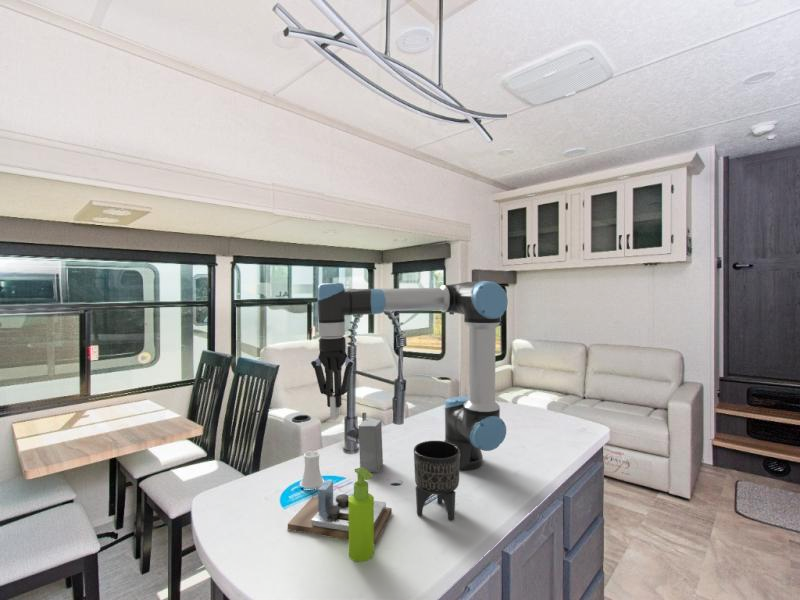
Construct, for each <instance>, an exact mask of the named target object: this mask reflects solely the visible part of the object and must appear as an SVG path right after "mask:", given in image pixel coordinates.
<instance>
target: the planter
mask: <svg viewBox="0 0 800 600" xmlns="http://www.w3.org/2000/svg"><path fill="white" fill-rule="evenodd" d="M413 463H414V467H413V468H414V482H415V485H416V486H415V502H416V503H415V504H416V514H417V516H418V517H419V516H420V517H421V516H423V510H424V506H425V503H426V501H427V500H428V499H429V498H430V497H431V496H432V495H436V496H437V499H436V500H437V504H441V505H442V504H443V503H444V505H445V507H446V512H447V520H448V521H450V522H453V521H455V515H456V513H455V511H456V510H455V509H456V489H458V486H459V484H460V471H461V470H460V449H459V447H458V446H456V445H454V444H452V443H449V442H445V440H443V441H442V440H426V441H423V442H420V443H418V444H416V445H414V447H413Z"/></svg>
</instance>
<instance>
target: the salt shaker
mask: <svg viewBox="0 0 800 600" xmlns="http://www.w3.org/2000/svg"><path fill="white" fill-rule="evenodd" d="M303 457H304V470H303V476H302V478H301V480H300V481H299V487H300V486H301V487H304V488H305V489H306V488H307V489H310V490H311V489H315V488H316V489H315V490H314V491H318V489H319V488H320V487H321V486H322V485H323V484H324V483H325V480H324V478H323V475H322V474H321V470H320V452H319V451H317V450H310V451H309V450H308V451H306V452H305V453H304V454H303Z"/></svg>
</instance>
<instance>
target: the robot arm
mask: <svg viewBox="0 0 800 600" xmlns="http://www.w3.org/2000/svg"><path fill="white" fill-rule="evenodd" d="M316 300H317V316H318V317H317V318H318V319H317V320H318V321H317V322H318V336H319V339H318V348H319V354H318V357H317V358H316V359H315V360H313V361H311V362H310V364H311V366H312V367H313V370H314V373H315V377H316V380H317V384H318V388H319V391H320V394H321V395H325V396H326V401H327V402H326V403H327V404H326V405H327V408H329V410H330V413H329V414H330V415H329V416H330V420H332V421H333V420H334V421H336V420H337V419H338V418H340V408H341V407H342V396H343V395H345V394H347V393H348V391H349V385H350V381H351V376H352V370H353V368H354V366H355V364H356V361H355V360H351V359H350V358H349V357H348V354H347V351H346V350H347V349H346V347H347V346H346V341H347V340H346V337H345V335H346V316H358V315H359V316H361V315H362V316H363V315H365V316H366V315H372V316H374V315H378V314H382V313H384V312H399V311H401V312H403V311H404V312H405V311H408V312H409V311H440V312H441V313H454V314H460V315H464V319H463V320H464V322H463V323H465V325H466V326H467V328H468V395H467V396H463V395H462V396H452V397H449V398H447V399H446V400H445V404H444V405H445V406H444V413H445V414H444V425H445V426H444V428H445V429H444V435H445V437H444V438H445V439H444V441H445V442H449V443H452V444H454V445H456V446H458V447H459V449H460V471H468V470H475V469H478V468H480V467H482V465H483V461H484V460H483V454H482V451H484V452H491V451H493V450H496V449H497V448H498V447H500V445H501V444H502V443H503V442H504V440H505V438H506V436H507V425H506V423H505V422H504V420H503V419H502V418H501V417H500V414H501V411H500V410H501V407H500V405H499V403H498V402H496V346H497V345H496V339H497V338H496V333H497V331H496V330H497V329H496V328H497V327H499V326H500V324H501V321H502V319H501V317H502V316H503V315H504V314H505V312H507V311H506V310H507V308H508V303H509V302H508V301H509V299H508V296H507V293H506V291H505V289H504V288H503V287H502V286H501V284H498V283H496V282H494V281H488V280H480V281H465V282H460V283H455V284H454V283H453V284H443V285H442V284H441V285H440V286H439V287H415V288H414V287H413V288H410V287H409V288H407V287H406V288H350V289H345V286H344V283H341V282H331V283H330V282H329V283H326V282H325V283H320V284H319V285H318V287H317V299H316ZM322 365H323V367H324V369H323V367H322ZM343 366H345V368H344V373H343V379H342V370H343V369H342V367H343Z"/></svg>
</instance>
